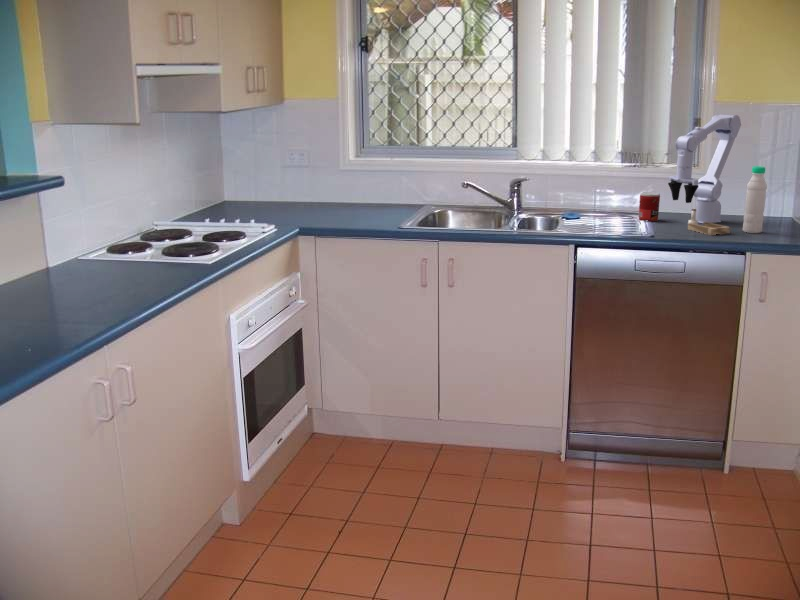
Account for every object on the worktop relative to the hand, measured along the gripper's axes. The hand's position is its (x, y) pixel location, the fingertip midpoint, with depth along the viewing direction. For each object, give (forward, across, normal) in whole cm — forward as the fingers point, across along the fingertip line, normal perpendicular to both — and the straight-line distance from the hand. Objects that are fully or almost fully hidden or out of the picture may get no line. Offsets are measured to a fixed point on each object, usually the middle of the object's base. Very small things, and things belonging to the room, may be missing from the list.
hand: (681, 201), depth 348 cm
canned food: (+10, -16, -3) cm, 19 cm away
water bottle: (+10, +22, +16) cm, 29 cm away
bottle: (+10, +6, +1) cm, 12 cm away
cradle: (+10, +14, +1) cm, 17 cm away
